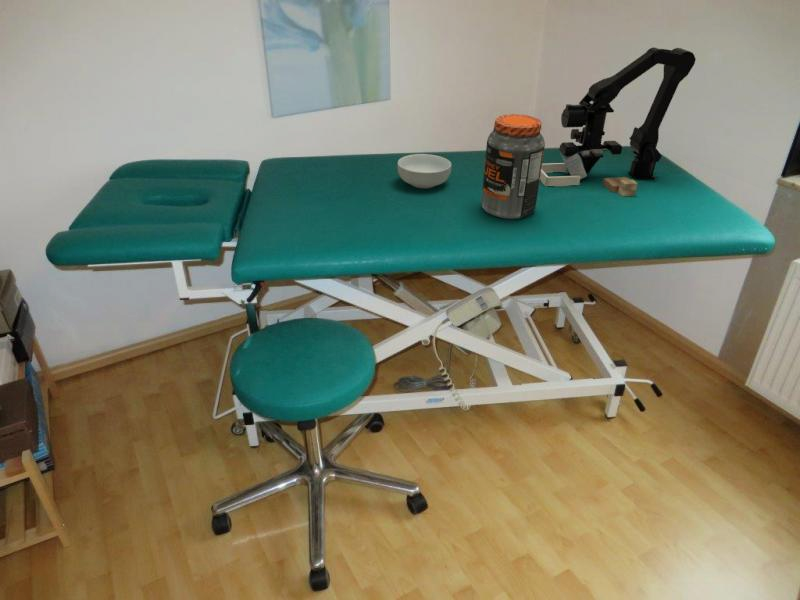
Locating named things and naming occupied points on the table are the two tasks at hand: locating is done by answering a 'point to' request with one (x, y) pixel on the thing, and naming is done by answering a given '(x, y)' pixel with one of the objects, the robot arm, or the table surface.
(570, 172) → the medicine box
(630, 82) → the robot arm
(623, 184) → the beech block
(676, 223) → the table surface
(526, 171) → the supplement tub
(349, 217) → the table surface
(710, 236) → the table surface
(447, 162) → the cereal bowl
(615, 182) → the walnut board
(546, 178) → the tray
